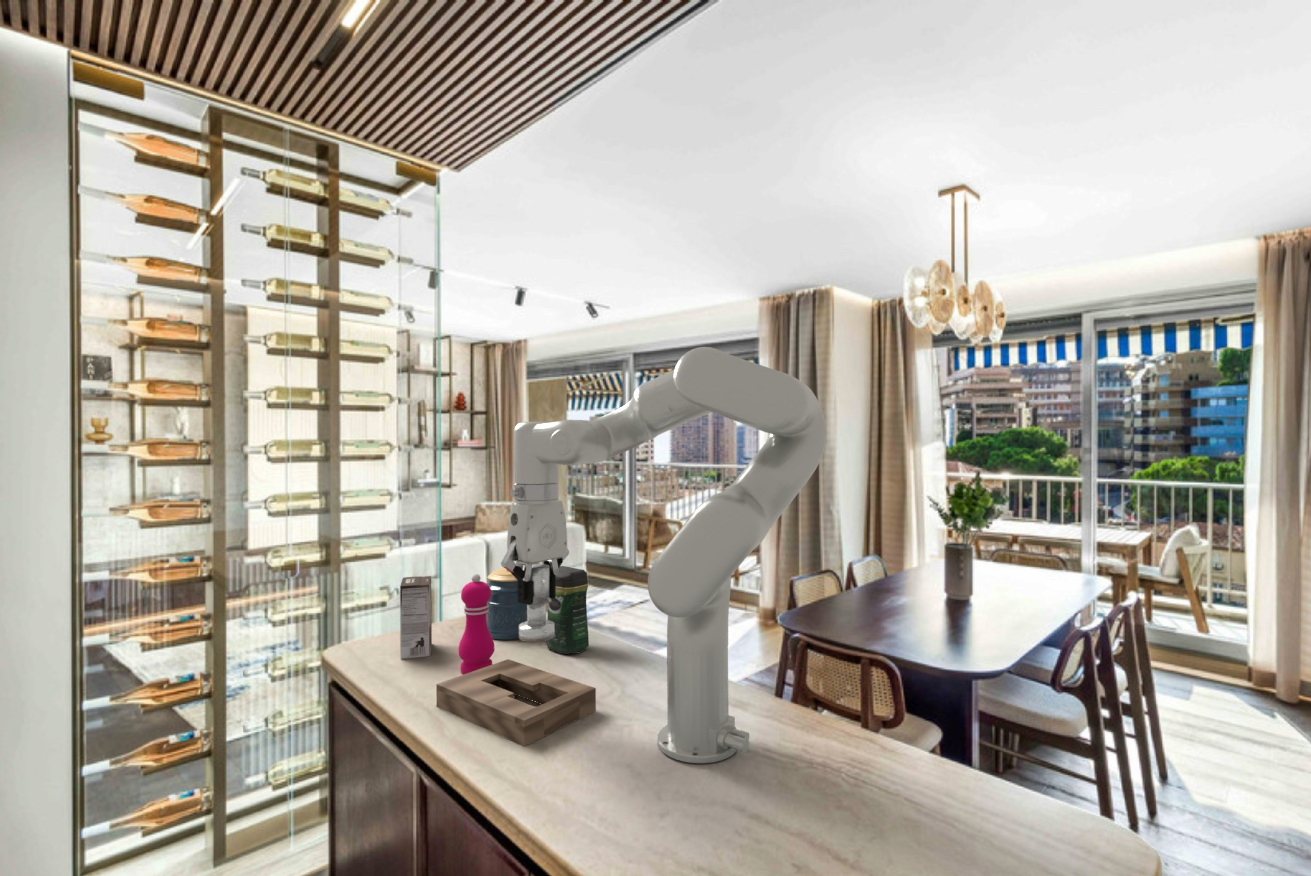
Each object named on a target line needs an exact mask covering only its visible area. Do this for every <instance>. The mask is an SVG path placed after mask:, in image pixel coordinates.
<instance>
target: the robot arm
mask: <svg viewBox="0 0 1311 876" xmlns="http://www.w3.org/2000/svg"><path fill="white" fill-rule="evenodd" d="M711 413H713V414H717V415H719V416H722V417H724V418H727V419H730V420H731V421H735V422H737V423H740V424H742V425H746V426H747V427H750V428H752V429H756V430H758V431H761V432H764V433H767V434H768V437H767V439H766V441H765V443H764V444H763V445H762V447H761V448H760V449H759V450H758V452H756V454H755V455H754V456H753V457H752V458H751V459H750V460H749V462H748V463H747V465H746V467H745V468H744V469H743V470H742V471H741V473H740V474H739V475H738V476H737V477H736V479H735V480H734V481H733V482H732V483H731V485H729V486H728V487H727V488H726V489H725V490H723V491H721V492H718V493H715V494H714V495H712V496H710V497H708V498H706V500H704V501H703V502H702V503H701V504H700V505H699V506H697V508H696V509H695V510H694V511H693V513H692V514H691V515H690V516H689V517H688V519H687V520H686V521H685V523H684V524H683V525H682V526H681V527H680V529H679V530H678V531H677V533H676V534H675V535H674V536H673V537H672V539H671V540H670V541H669V543H668V544H667V545H666V546H665V548H664V549H663V550H662V552H660V554H659V555H658V556H657V558H656V559H655V560H654V562H653V564H652V565H651V568H650V570H649V573H648V577H647V590H648V594H649V598H650V600H651V602H652V604H653V605H654V606H655V607H656V609H658V610H659V611H660V612H661V613H663V614H664V615H667V624H666V625H667V627H666V683H667V684H666V687H667V688H666V691H667V695H666V696H667V697H666V698H667V701H666V702H667V703H666V705H667V707H666V709H667V714H666V715H667V718H666V719H667V724H666V725H664V727H662V729H660V730H659V732H658V734H657V746H658V747H659V750H661V752H662V753H663V754H665V755H666V756H668V757H670V758H672V759H673V760H676V761H680V762H684V763H688V764H710V763H716V762H721V761H724V760H726V759H728V758H730V757H732V756H733V755H734V754H735V753H736V752H740V753H743V754H746V753H747V752H748V750H749V746H750V743H749V742H750V740H749V739H750V732H747V731H744V730H740V729H737V727H736V726H735V725H736V721H735V719H736V717H735V716H732V715H730V714H729V614H730V612H729V610H730V597H731V585H732V575H733V574H734V573H735V571H736V570H737V569H738V568H739V567H740V566H741V565H742V563H743V562H744V561H745V560H746V558H748V556H749V555H750V554H751V553H752V552H753V551H754V550H755V549H756V548H757V547H758V546H759V545H760V544H761V543H762V542H763V541H764V540H765V538H766V537H767V534H768V533H769V532H770V530H771V528H772V527H773V526H774V525H775V523H776V522H777V521H778V519H779V518H780V517H781V515H782V514H783V513H784V512H785V511H786V510H787V508H788V507H789V506H790V505H791V504H792V502H793V500H794V499H795V498H796V496H797V495H798V494H799V493H800V492H801V490H802V489H803V488H804V486H805V485H806V484H807V483H808V482H809V480H810V479H811V477H812V476H813V474H814V473H815V471H816V469H817V468H818V466H819V464H820V462H821V460H822V458H823V455H824V451H825V448H826V442H827V424H826V420H825V419H826V418H825V416H824V412H823V409H822V407H821V404H820V402H819V401H818V399H817V397H816V395H815V393H814V392H813V390H812V389H811V388H810V387H809V386H808V385H807V384H805V383H804V382H803V381H801V380H799V379H798V378H796V377H795V376H793V375H791V374H788V373H785V372H783V371H779V370H777V369H774V368H770V367H768V366H765V365H762V364H758V363H757V362H752V361H750V360H746V359H744V358H741V357H738V356H735V355H733V354H730V353H728V352H724V351H722V350H720V349H717V348H714V347H710V346H701V347H695V348H693V349H690V350H688V351H687V352H685V354H683V355H682V356H681V357H680V359H679V360H678V361H677V363H676V364H675V367H674V369H673V370H670V371H668V372H665V373H664V374H661V375H659V376H657V377H655V378H652V379H650V380H647V381H645V382H644V383H642V384H640V385H638V386H637V387H636V388H635V389H634V392H633V395H632V397H631V399H630V400H629V401H628V402H627V403H626V404H625V405H623V406H621V407H619V408H618V409H615V410H613V411H611V412H609V413H607V414H605V415H603V416H600V417H598V418H595V419H591V420H585V419H584V420H583V419H562V420H556V421H551V422H549V421H523V422H519V423H517V424H516V426H515V427H514V429H513V463H514V464H513V486H514V487H513V488H511V489H510V491H509V494H510V497H511V498H513V502H512V503H511V506H510V511H509V516H508V524H507V534H506V535H507V537H506V539H507V540H506V542H507V543H506V553H505V555H504V556H503V558H502V561H501V562H500V566H502V568H505V569H507V570H509V571H510V573H511V574H512V575H513V576H514V578H515V579H517V592H518V602H519V603H522V604H527V605H531V604H532V603H533V582H532V581H531V580H530V575H531V569H532V564H539V563H541V564H547V565H549V566H550V598H551V599H553V598H555V597H556V575H557V574H558V572H559V567H560V566H562V564H563V562H564V561H565V559H566V558H567V557H568V556H569V555H570V550H569V549H568V529H567V521H566V520H567V519H566V513H565V508H564V507H565V506H564V504H563V500H561V499H560V497H559V495H560V494H559V493H560V492H559V487H560V485H559V483H560V481H559V480H560V479H559V476H560V475H559V473H560V472H559V471H560V470H559V465H561V466H562V465H563V466H579V465H586V464H596V463H600V462H603V461H606V460H608V459H611V458H613V457H616V456H618V455H621V454H623V453H625V452H627V451H630V450H633V449H634V448H636V447H638V446H641V445H642V444H644V443H647V442H648V441H650V440H654V439H655V438H657V437H658V436H659V435H662V434H664V433H667V432H669V431H670V430H673V429H675V428H678V427H681V426H682V425H684V424H686V423H687V424H688V423H689V422H692V421H694V420H697V419H698V418H701V417H704V416H706V415H709V414H711ZM514 562H515V563H516V564H515V563H514ZM523 567H524V571H523Z"/></svg>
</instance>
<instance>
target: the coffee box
mask: <svg viewBox="0 0 1311 876" xmlns="http://www.w3.org/2000/svg"><path fill="white" fill-rule="evenodd" d="M399 589H400V592H399V596H400V597H399V601H400V602H399V603H400V604H399V607H400V608H399V611H400V612H399V614H400V616H399V617H400V620H399V622H400V624H399V625H400V630H399V631H400V635H399V637H400V638H399V640H400V645H399V647H400V659H401V660H405V659H415V658H424V657H425V658H426V657H430V656H431V654H432V653H431V651H432V646H433V645H432V644H433V635H432V631H433V630H432V628H433V627H432V625H433V624H432V622H433V620H432V610H433V609H432V606H433V605H432V576H431V575H426V576H422V575H421V576H404V577H402V579H401V582H400V585H399Z"/></svg>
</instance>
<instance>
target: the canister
mask: <svg viewBox="0 0 1311 876" xmlns="http://www.w3.org/2000/svg"><path fill="white" fill-rule="evenodd" d="M514 563H515V564H516V561H514ZM486 578H487V579H488V582H487V584H488V585H489V587H490V589H491V598H490V599H489V601H488V602H487V604H488V605H489V607H488V609H489V611H488V612H487V616H486V620H487V626H488V630H489V632H490V634H491V636H492V638H493V640H501V641H504V640H505V641H507V640H508V641H509V640H518V639H519V624H521V623H523V622H526V621H527V604H522V603H519V602H518V592H517V579H515V578H514V576H513V575H512V574H511V573H510V571H509V570H507V569H505V568H504V567H502V568H498V569H495V570H493V572H491V573H489V574H488V575H487V577H486ZM519 640H520V639H519Z"/></svg>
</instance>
